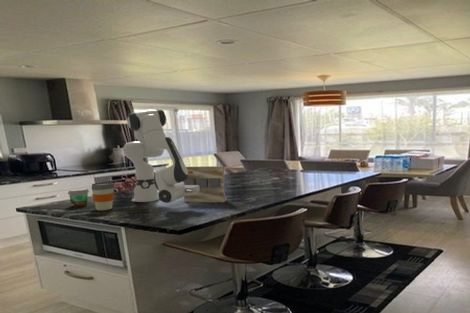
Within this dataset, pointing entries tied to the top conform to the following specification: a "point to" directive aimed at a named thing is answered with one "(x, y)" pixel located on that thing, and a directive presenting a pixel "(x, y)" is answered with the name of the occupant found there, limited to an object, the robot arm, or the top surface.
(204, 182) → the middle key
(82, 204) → the food container
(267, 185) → the top surface
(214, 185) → the key
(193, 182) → the key
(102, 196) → the reusable coffee cup
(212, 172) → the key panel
